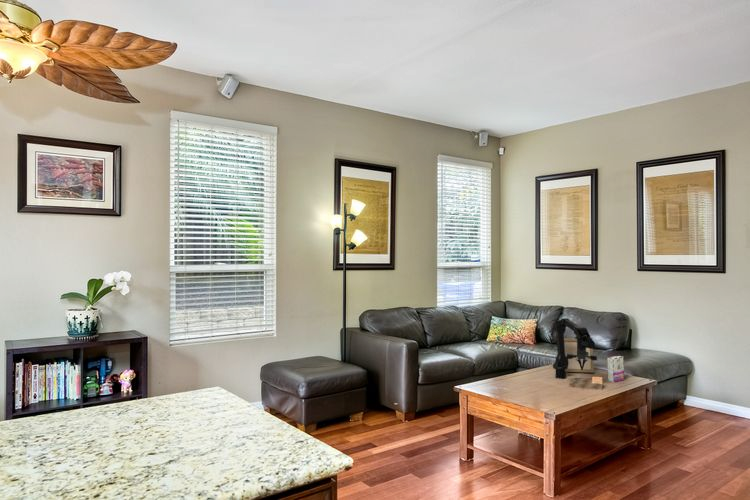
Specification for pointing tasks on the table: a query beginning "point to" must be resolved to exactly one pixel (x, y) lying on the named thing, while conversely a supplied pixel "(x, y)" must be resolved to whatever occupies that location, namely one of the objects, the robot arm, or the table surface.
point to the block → (597, 379)
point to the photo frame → (573, 364)
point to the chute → (584, 383)
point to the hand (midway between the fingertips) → (582, 369)
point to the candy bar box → (615, 368)
